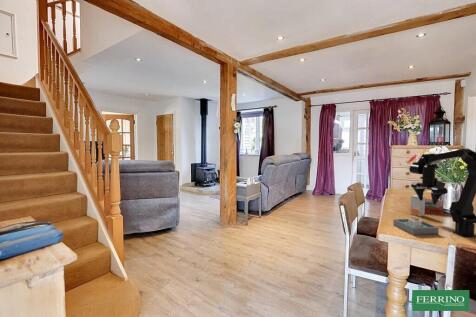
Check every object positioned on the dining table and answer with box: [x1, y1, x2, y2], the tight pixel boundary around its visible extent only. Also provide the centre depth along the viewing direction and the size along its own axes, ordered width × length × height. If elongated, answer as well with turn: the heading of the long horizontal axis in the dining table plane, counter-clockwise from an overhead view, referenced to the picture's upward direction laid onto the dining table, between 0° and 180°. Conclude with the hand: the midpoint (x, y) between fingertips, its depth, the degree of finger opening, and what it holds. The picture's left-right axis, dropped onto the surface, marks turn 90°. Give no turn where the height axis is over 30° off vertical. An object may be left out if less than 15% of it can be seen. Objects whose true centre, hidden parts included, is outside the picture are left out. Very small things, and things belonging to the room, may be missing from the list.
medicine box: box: [424, 197, 444, 215], centre depth 157 cm, size 15×8×8 cm, turn 63°
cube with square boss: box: [407, 217, 423, 227], centre depth 125 cm, size 4×4×6 cm
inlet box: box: [393, 218, 439, 236], centre depth 125 cm, size 14×13×4 cm
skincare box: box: [409, 194, 426, 217], centre depth 149 cm, size 6×4×12 cm
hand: (427, 202), depth 137 cm, fingers open, 9 cm apart
